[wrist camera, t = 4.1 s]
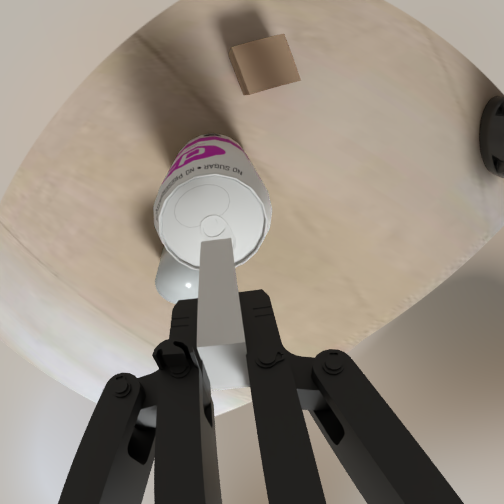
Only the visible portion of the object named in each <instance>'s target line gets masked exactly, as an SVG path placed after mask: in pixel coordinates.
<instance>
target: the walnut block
mask: <svg viewBox="0 0 504 504" xmlns="http://www.w3.org/2000/svg"><path fill="white" fill-rule="evenodd" d="M228 55H229V58H230V60H231V63H232V66H233V68H234V71H235V73H236V76H237V79H238V81H239V84H240V86H241V89H242V92H243V95H250V94H254V93H257V92H260V91H264V90H267V89H270V88H274V87H277V86H281V85H285V84H289V83H293V82H297V81H301V80H300V77H299V74H298V71H297V68H296V65H295V62H294V59H293V56H292V54H291V51H290V48H289V45H288V43H287V40H286V37H285V35H284V34H280V35H276V36H271V37H267V38H263V39H259V40H255V41H251V42H247V43H244V44H240V45H237V46H233V47H231V49H230V52H229V54H228Z"/></svg>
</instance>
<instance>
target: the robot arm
mask: <svg viewBox="0 0 504 504" xmlns="http://www.w3.org/2000/svg"><path fill="white" fill-rule="evenodd" d="M480 148H481V154H482V158H483V161H484V164H485V166H486V167H487V169H488V170H489V171H490V172H491V173H493V174H495V175H497V176H499V177H501V178H504V97H500V96H496V97H494V98H492V99H491V100H490V101H489V102H488V104H487V105H486V107H485V110H484V112H483V116H482V120H481V126H480ZM171 319H172V320H171V328H170V335H169V339H168V340H165V341H163V342H162V343H160V344H159V345H158V346H157V347H156V348H155V349H154V352H153V355H152V356H153V358H154V360H155V361H156V363H157V365H158V367H159V370H157V371H156V372H154V373H152V374H149V375H146V376H143V377H140V378H136V377H135V376H134V375H132V374H130V373H120V374H117V375H115V376H113V377H112V378H110V380H109V381H108V382H107V384H106V386H105V388H104V390H103V392H102V394H101V396H100V399H99V401H98V403H97V405H96V408H95V410H94V412H93V414H92V416H91V419H90V421H89V423H88V426H87V428H86V431H85V433H84V435H83V438H82V440H81V443H80V445H79V448H78V450H77V452H76V455H75V458H74V460H73V463H72V465H71V468H70V471H69V474H68V476H67V479H66V482H65V484H64V488H63V490H62V493H61V496H60V500H59V502H58V504H141V502H142V499H143V496H144V492H145V488H146V485H147V481H148V478H149V474H150V471H151V468H152V464H153V461H154V457H155V464H154V466H155V468H154V495H155V504H222V499H221V489H220V480H219V470H218V459H217V447H216V436H215V421H214V405H213V401H212V398H211V389H212V391H215V390H226V389H235V388H243V387H250V388H251V395H252V402H253V408H254V414H255V421H256V427H257V434H258V441H259V447H260V453H261V459H262V465H263V471H264V477H265V483H266V489H267V495H268V500H269V504H326V501H325V497H324V493H323V489H322V485H321V481H320V477H319V473H318V469H317V465H316V462H315V458H314V454H313V450H312V446H311V442H310V439H309V434H308V431H307V427H306V423H305V419H304V416H303V412H302V410H308V411H309V412H310V414H311V416H312V417H313V418H314V421H315V422H316V424H317V425H318V427H319V429H320V430H321V432H322V434H323V435H324V437H325V438H326V440H327V442H328V443H329V445H330V446H331V448H332V449H333V451H334V453H335V454H336V456H337V457H338V459H339V461H340V462H341V464H342V465H343V467H344V468H345V470H346V472H347V473H348V475H349V476H350V478H351V479H352V481H353V482H354V484H355V485H356V487H357V489H358V490H359V492H360V493H361V494H362V496H363V497H364V499H365V501H366V502H367V504H464V503H463V502H462V501H461V499H460V498H459V496H458V495H457V494H456V493H455V491H454V490H453V488H452V487H451V486H450V485H449V483H448V482H447V481H446V479H445V478H444V477H443V475H442V474H441V473H440V471H439V470H438V469H437V467H436V466H435V465H434V464H433V463H432V461H431V460H430V458H429V457H428V456H427V454H426V453H425V452H424V450H423V449H422V448H421V447H420V445H419V444H418V443H417V441H416V440H415V439H414V438H413V436H412V435H411V434H410V432H409V431H408V430H407V429H406V427H405V426H404V425H403V423H402V422H401V421H400V420H399V418H398V417H397V416H396V414H395V413H394V412H393V411H392V409H391V408H390V407H389V405H388V404H387V403H386V402H385V400H384V399H383V398H382V397H381V396H380V394H379V393H378V391H377V390H376V389H375V388H374V386H373V385H372V384H371V383H370V381H369V380H368V379H367V378H366V376H365V375H364V374H363V372H362V371H361V370H360V369H359V367H358V366H357V365H356V364H355V362H354V361H353V360H352V359H351V357H349V356H348V355H347V354H346V353H345V352H342V351H340V350H334V349H329V350H325V351H322V352H321V353H319V354H318V355H317V356H316V357H315V358H312V357H301V356H296V355H294V354H291V353H290V352H288V351H287V350H286V349H285V348H284V347H283V345H282V342H281V339H280V335H279V331H278V328H277V324H276V320H275V316H274V313H273V309H272V305H271V301H270V297H269V296H268V295H267V294H266V293H265V292H264V291H263V290H262V289H261V290H253V291H246V292H238V286H237V278H236V271H235V263H234V255H233V248H232V240H231V238H226V239H218V240H210V241H202V242H201V249H200V266H199V287H198V298H194V299H185V300H178V302H177V303H176V305H175V306H174V308H173V311H172V318H171ZM210 386H211V388H210Z"/></svg>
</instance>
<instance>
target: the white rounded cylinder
mask: <svg viewBox="0 0 504 504" xmlns="http://www.w3.org/2000/svg"><path fill="white" fill-rule="evenodd" d="M155 285H156V289H157V291H158V293H159V294H160V295H161V296H162V297H163V298H164V299H165V300H167V301H169V302H171V303H174V304H176V303H177V302H178V300H185V299H194V298H198V287H199V271H198V270H193V269H191V268H189V267H187V266H185V265H183V264H181V263H179V262H178V261H177V260H176V259H175V258H174V257H173V256H172V255H171V254H170V253H169V252H168V251H167V250H166V248H165V246H164V248H163V251H162V255H161V259H160V263H159V267H158V271H157V275H156V279H155Z"/></svg>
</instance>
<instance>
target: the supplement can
mask: <svg viewBox="0 0 504 504" xmlns="http://www.w3.org/2000/svg"><path fill="white" fill-rule="evenodd" d="M153 210H154V226H155V228H156V231H157V233H158V235H159V237H160V239H161V242H162V243H163V244H164V246H165V248H166V250H167V251H168V252H169V253H170V254H171V255H172V256H173V257H174V258H175V259H176V260H177V261H178V262H179V263H181V264H183V265H185V266H187V267H189V268H191V269H193V270H198V271H199V266H200V249H201V242H202V241H210V240H218V239H226V238H231V240H232V248H233V255H234V263H235V267H237V266H239V265H241V264H244V263H245V262H246V261H247V260H248V259H250V258H251V257H252V256H253V255H254V254H255V253H256V252H257V251H258V249H259V247H260V245H261V244H262V242H263V240H264V238H265V236H266V234H267V232H268V231H269V229H270V223H271V216H272V206H271V202H270V198H269V194H268V191H267V189H266V187H265V185H264V184H263V182H262V180H261V178H260V177H259V175H258V173H257V172H256V170H255V168H254V166H253V165H252V163H251V161H250V160H249V158H248V156H247V155H246V153H245V152H244V150H243V149H242V147H241V146H240V145H239V143H237V142H236V141H234V140H233V139H231V138H230V137H228V136H225V135H220V134H216V133H212V134H204V135H200V136H198V137H196V138H194V139H192V140H190V141H188V143H187V144H186V145H185V146H184V147H183V148H182V149H181V150H180V152H179V153H178V155H177V157H176V159H175V160H174V162H173V164H172V166H171V168H170V170H169V171H168V173H167V175H166V177H165V179H164V181H163V183H162V185H161V187H160V189H159V192H158V195H157V197H156V200H155V203H154V206H153Z"/></svg>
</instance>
